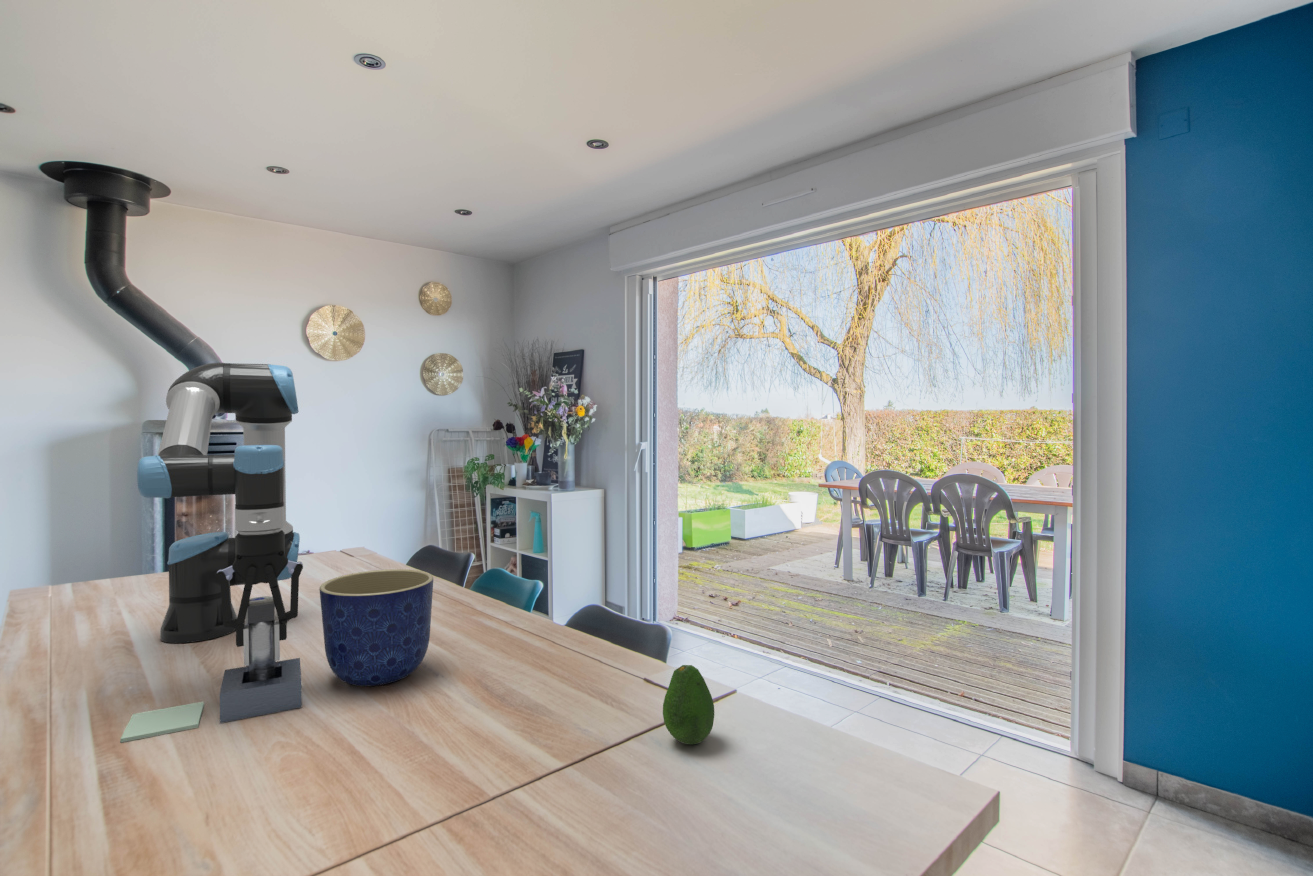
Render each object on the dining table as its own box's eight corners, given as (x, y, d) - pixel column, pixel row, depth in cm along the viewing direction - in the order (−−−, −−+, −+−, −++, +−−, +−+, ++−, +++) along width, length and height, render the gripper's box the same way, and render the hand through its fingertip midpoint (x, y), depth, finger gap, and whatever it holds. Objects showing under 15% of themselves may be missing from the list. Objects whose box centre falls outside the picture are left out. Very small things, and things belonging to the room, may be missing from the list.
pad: (133, 717, 110) (133, 714, 110) (204, 704, 115) (204, 701, 115) (120, 742, 101) (120, 739, 101) (198, 727, 106) (197, 724, 106)
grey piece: (249, 678, 116) (248, 599, 116) (275, 673, 118) (274, 596, 118) (248, 686, 113) (247, 604, 113) (275, 681, 115) (274, 601, 115)
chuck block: (225, 696, 118) (225, 669, 118) (300, 683, 124) (299, 657, 124) (219, 723, 108) (219, 693, 108) (301, 707, 114) (301, 679, 114)
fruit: (698, 760, 96) (698, 681, 96) (653, 746, 100) (653, 670, 100) (722, 738, 103) (722, 663, 102) (679, 726, 107) (679, 654, 107)
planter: (456, 666, 133) (455, 574, 132) (374, 706, 114) (373, 599, 114) (383, 651, 142) (382, 565, 141) (296, 686, 123) (294, 587, 122)
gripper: (199, 538, 108) (202, 677, 108) (315, 530, 116) (316, 658, 117) (204, 532, 114) (206, 663, 115) (313, 524, 123) (315, 646, 123)
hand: (262, 660), depth 116 cm, fingers closed on grey piece, 4 cm apart
